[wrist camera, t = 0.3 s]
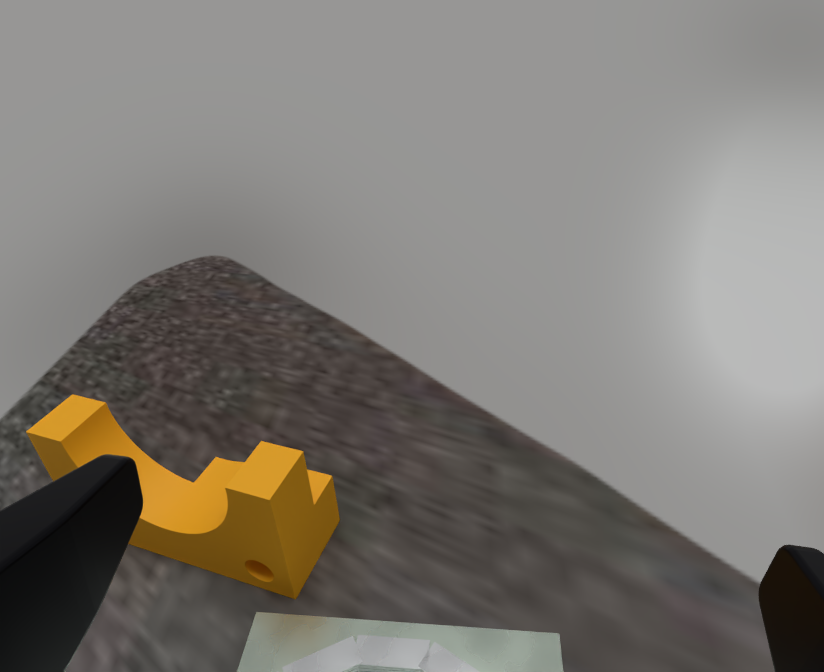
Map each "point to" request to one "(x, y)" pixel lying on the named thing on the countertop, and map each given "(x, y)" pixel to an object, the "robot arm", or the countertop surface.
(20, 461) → the countertop surface
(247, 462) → the pipe clamp
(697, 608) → the countertop surface
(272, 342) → the countertop surface
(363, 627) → the duct collar
